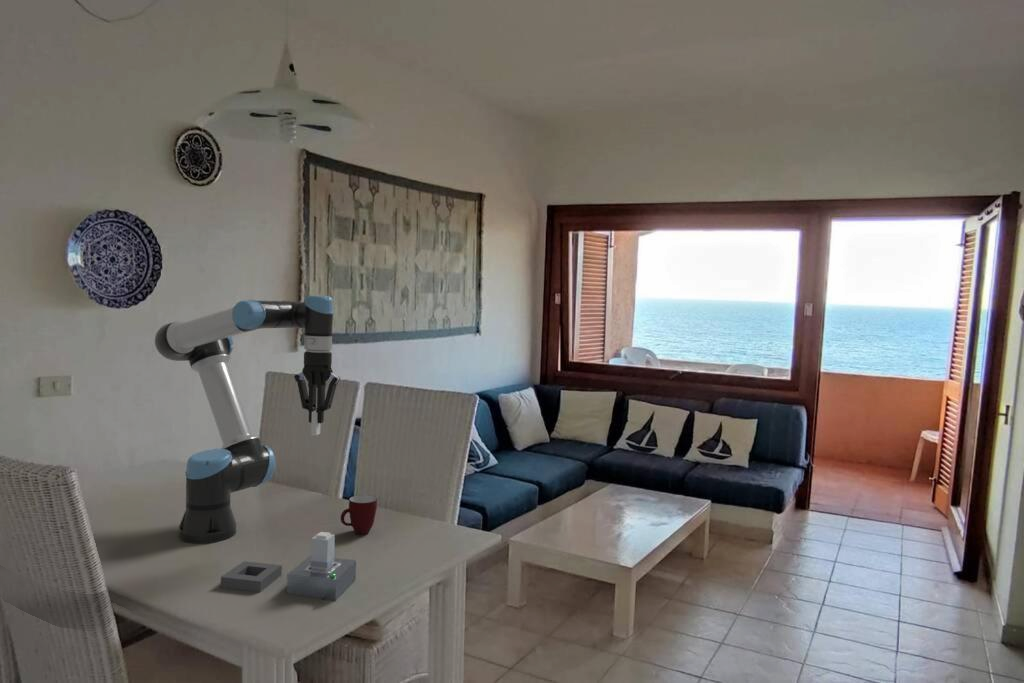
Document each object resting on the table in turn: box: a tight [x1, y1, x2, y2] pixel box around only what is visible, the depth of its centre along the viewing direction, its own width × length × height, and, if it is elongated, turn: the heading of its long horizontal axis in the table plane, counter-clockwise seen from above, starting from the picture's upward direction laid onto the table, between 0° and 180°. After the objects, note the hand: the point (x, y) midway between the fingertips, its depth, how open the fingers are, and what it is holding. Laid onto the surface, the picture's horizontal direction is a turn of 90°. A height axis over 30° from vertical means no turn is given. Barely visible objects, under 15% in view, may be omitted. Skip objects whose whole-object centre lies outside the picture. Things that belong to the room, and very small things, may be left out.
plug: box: [310, 531, 336, 572], centre depth 164 cm, size 4×4×13 cm
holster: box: [220, 560, 283, 593], centre depth 165 cm, size 10×10×3 cm
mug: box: [340, 494, 378, 535], centre depth 203 cm, size 10×8×10 cm
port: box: [286, 555, 357, 602], centre depth 164 cm, size 12×12×6 cm
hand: (315, 434), depth 194 cm, fingers closed
